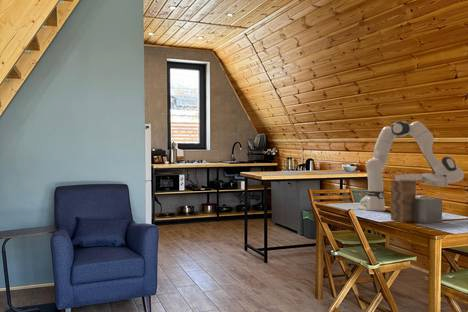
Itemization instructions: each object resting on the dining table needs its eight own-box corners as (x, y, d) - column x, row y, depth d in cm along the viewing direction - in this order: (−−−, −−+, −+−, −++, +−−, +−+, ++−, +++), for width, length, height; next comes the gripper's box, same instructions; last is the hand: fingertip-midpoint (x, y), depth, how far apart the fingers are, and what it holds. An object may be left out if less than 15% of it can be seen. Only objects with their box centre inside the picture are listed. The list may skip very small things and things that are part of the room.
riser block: (413, 221, 281) (413, 198, 281) (428, 219, 287) (429, 196, 287) (426, 224, 272) (426, 199, 271) (441, 222, 278) (442, 198, 277)
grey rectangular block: (395, 180, 285) (395, 174, 284) (417, 179, 293) (417, 174, 293) (399, 180, 281) (399, 175, 281) (421, 179, 290) (422, 174, 290)
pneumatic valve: (421, 211, 321) (421, 195, 321) (412, 209, 333) (412, 193, 332) (428, 211, 322) (428, 195, 322) (419, 209, 334) (419, 193, 333)
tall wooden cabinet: (389, 219, 288) (390, 180, 288) (403, 218, 293) (403, 179, 293) (402, 222, 278) (403, 181, 278) (416, 220, 284) (416, 180, 283)
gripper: (431, 170, 307) (412, 173, 305) (449, 177, 287) (429, 180, 286) (431, 178, 308) (412, 181, 307) (449, 186, 289) (429, 190, 287)
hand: (421, 181), depth 296 cm, fingers open, 8 cm apart
